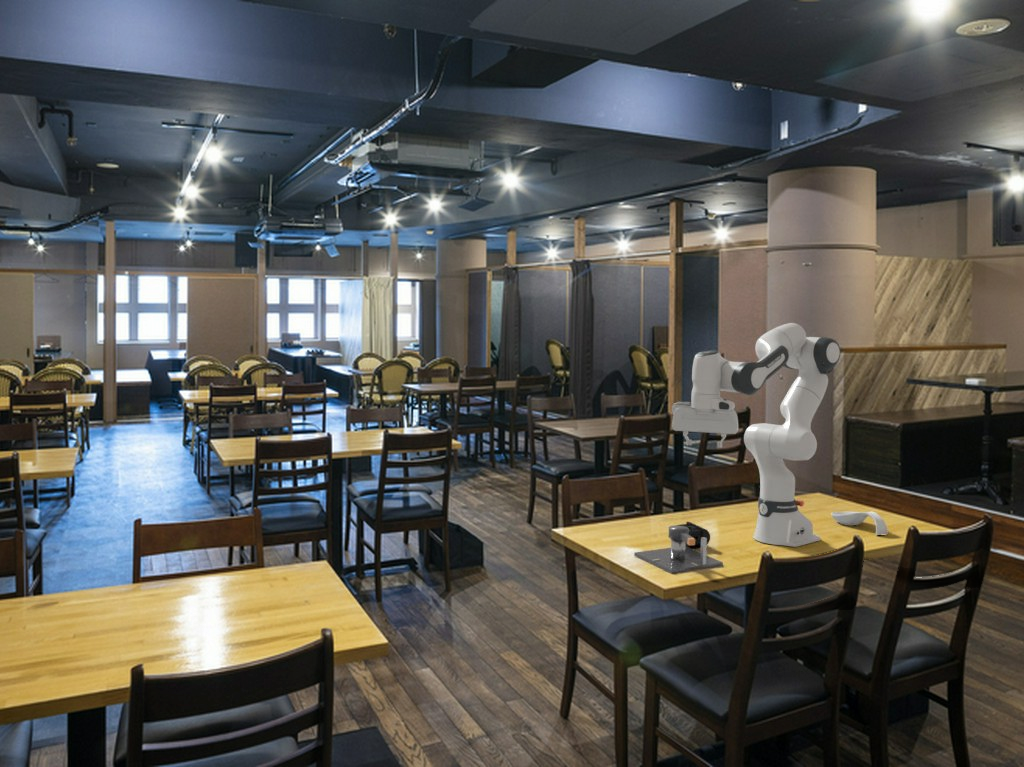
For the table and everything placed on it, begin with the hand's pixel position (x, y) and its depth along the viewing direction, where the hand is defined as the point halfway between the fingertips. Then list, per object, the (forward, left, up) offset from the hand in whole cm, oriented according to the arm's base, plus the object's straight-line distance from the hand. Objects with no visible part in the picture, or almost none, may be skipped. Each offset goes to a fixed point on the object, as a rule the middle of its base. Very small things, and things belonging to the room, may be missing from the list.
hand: (704, 446), depth 252 cm
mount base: (+12, +4, -34) cm, 36 cm away
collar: (+13, +8, -27) cm, 31 cm away
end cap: (-3, -8, -34) cm, 35 cm away
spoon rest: (-73, -3, -35) cm, 81 cm away
